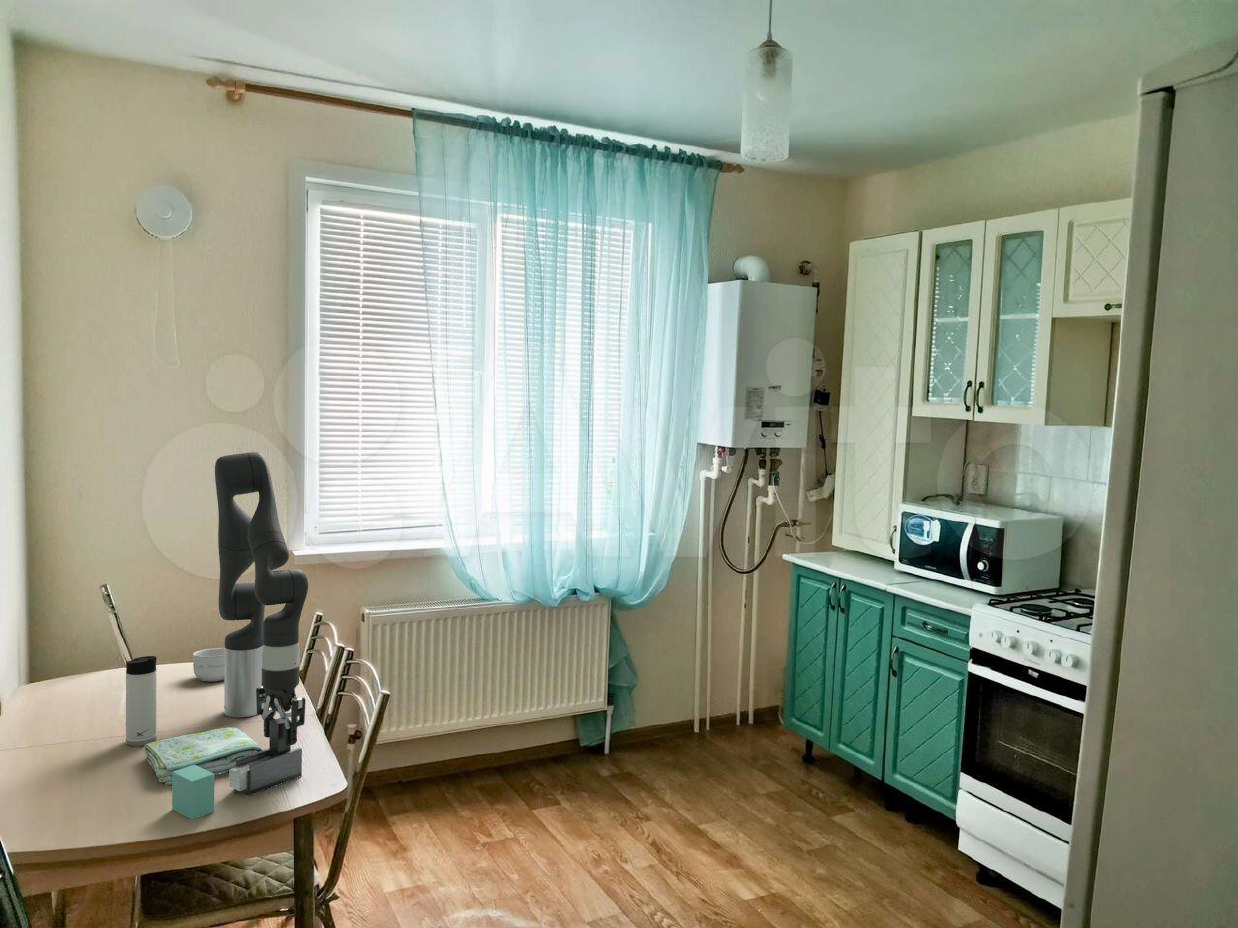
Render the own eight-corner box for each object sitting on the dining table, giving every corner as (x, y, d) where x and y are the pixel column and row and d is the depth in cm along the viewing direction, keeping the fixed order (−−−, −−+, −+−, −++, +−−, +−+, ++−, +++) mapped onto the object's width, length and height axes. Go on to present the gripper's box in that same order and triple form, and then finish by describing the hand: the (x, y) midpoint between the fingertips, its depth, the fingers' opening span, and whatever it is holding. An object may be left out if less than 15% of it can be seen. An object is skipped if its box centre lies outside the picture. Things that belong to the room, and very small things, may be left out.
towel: (140, 760, 198) (140, 737, 198) (241, 740, 211) (241, 719, 211) (158, 789, 184) (158, 765, 184) (264, 766, 197) (265, 744, 197)
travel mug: (144, 747, 204) (144, 661, 203) (119, 744, 205) (119, 659, 204) (163, 738, 210) (163, 654, 209) (139, 735, 211) (139, 652, 210)
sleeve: (286, 769, 195) (286, 742, 195) (301, 776, 192) (301, 748, 192) (235, 787, 185) (235, 759, 185) (251, 795, 182) (251, 765, 182)
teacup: (184, 682, 250) (184, 654, 250) (208, 671, 261) (208, 644, 260) (230, 687, 248) (230, 658, 248) (252, 675, 259) (252, 648, 258)
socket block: (194, 801, 179) (194, 764, 178) (214, 811, 175) (214, 773, 174) (172, 809, 175) (172, 771, 174) (192, 819, 171) (192, 781, 170)
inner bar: (288, 764, 194) (289, 714, 194) (299, 769, 192) (299, 718, 192) (229, 786, 183) (229, 732, 182) (239, 790, 181) (239, 736, 180)
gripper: (317, 666, 188) (316, 743, 189) (275, 653, 196) (274, 727, 197) (286, 674, 182) (285, 754, 183) (244, 661, 190) (243, 737, 191)
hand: (279, 740), depth 190 cm, fingers open, 7 cm apart
